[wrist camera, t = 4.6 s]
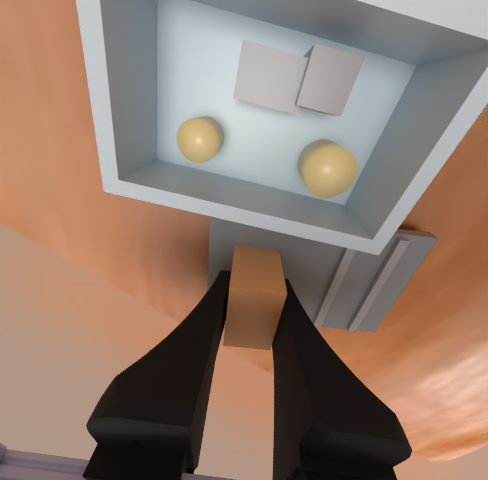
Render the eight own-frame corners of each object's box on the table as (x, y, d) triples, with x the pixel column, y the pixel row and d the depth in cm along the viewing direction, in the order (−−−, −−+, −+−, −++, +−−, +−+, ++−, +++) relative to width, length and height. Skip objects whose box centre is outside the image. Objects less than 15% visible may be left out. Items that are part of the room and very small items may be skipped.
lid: (429, 232, 11) (500, 281, 8) (370, 324, 15) (401, 382, 12) (211, 206, 11) (194, 246, 8) (208, 307, 15) (195, 362, 12)
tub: (432, 52, 8) (548, 17, 5) (346, 212, 12) (378, 255, 9) (147, -31, 8) (56, -139, 4) (150, 165, 11) (103, 191, 8)
